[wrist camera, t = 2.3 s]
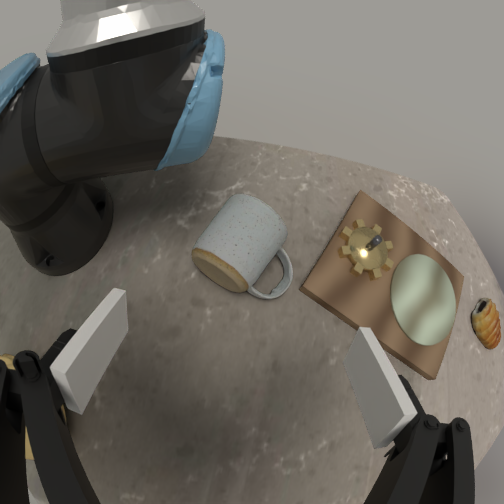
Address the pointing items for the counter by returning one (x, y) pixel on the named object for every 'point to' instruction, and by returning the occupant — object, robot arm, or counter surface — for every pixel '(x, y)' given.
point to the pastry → (487, 323)
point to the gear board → (392, 290)
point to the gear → (365, 250)
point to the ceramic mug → (243, 246)
